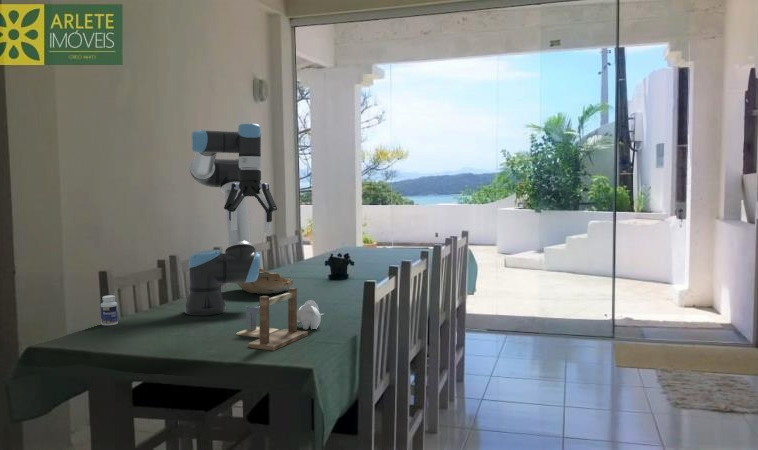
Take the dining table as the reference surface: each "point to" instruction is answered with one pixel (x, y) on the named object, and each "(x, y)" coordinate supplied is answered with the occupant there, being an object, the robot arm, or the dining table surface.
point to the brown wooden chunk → (267, 283)
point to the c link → (251, 317)
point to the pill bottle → (109, 311)
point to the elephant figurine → (309, 315)
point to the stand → (283, 335)
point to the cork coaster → (255, 332)
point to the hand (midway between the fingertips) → (250, 231)
